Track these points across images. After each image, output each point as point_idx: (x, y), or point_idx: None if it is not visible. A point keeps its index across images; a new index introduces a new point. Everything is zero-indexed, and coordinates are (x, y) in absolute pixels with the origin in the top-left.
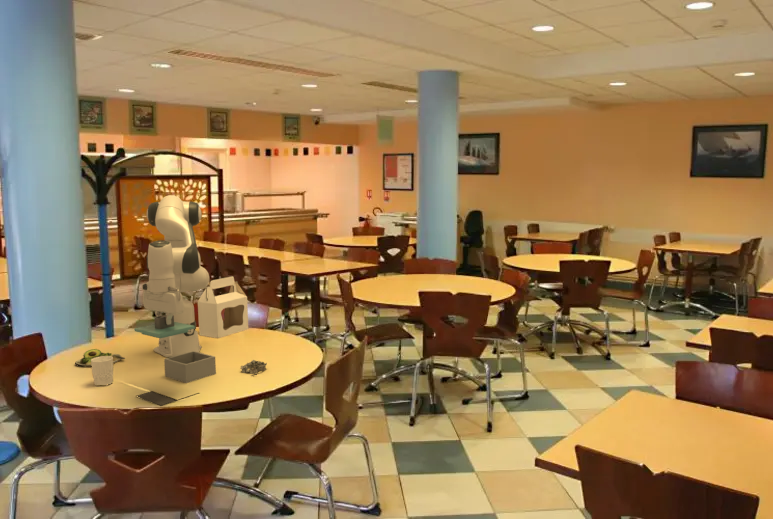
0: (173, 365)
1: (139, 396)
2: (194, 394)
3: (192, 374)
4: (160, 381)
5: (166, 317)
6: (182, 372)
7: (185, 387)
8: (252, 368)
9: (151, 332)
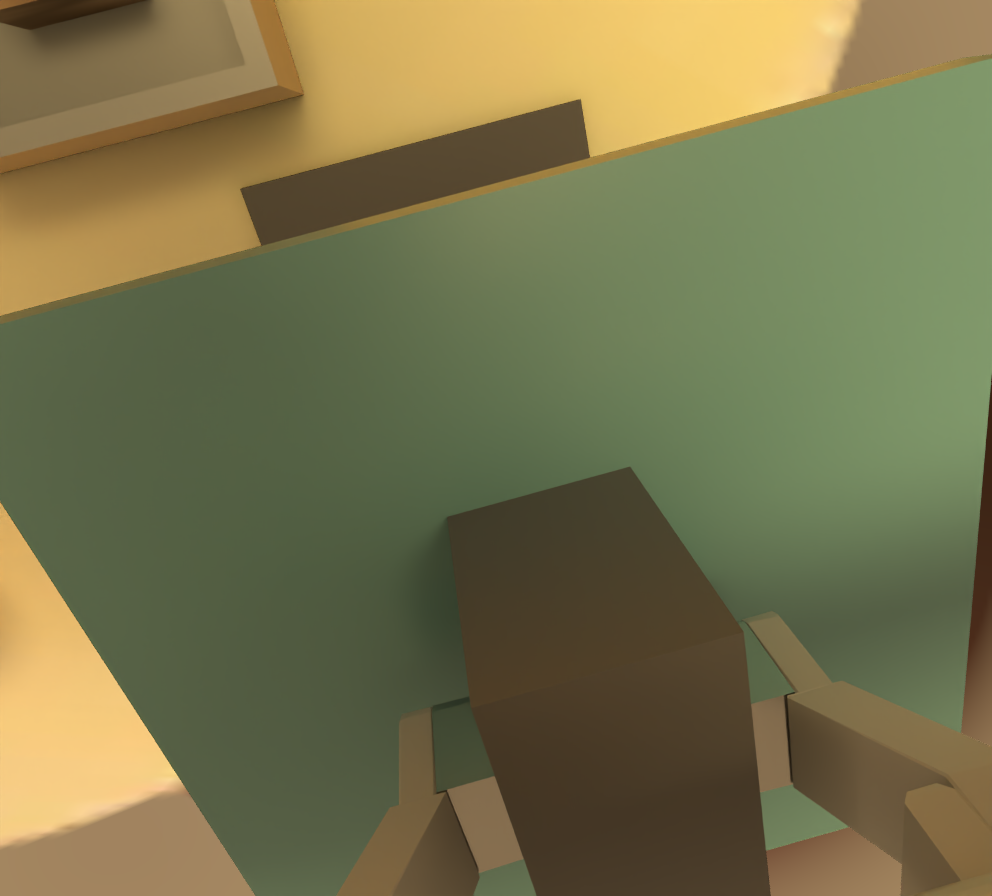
0: (68, 143)
1: None
2: (586, 147)
3: (265, 5)
4: (70, 242)
5: (878, 840)
6: (235, 104)
7: (361, 129)
8: None
9: (773, 846)
